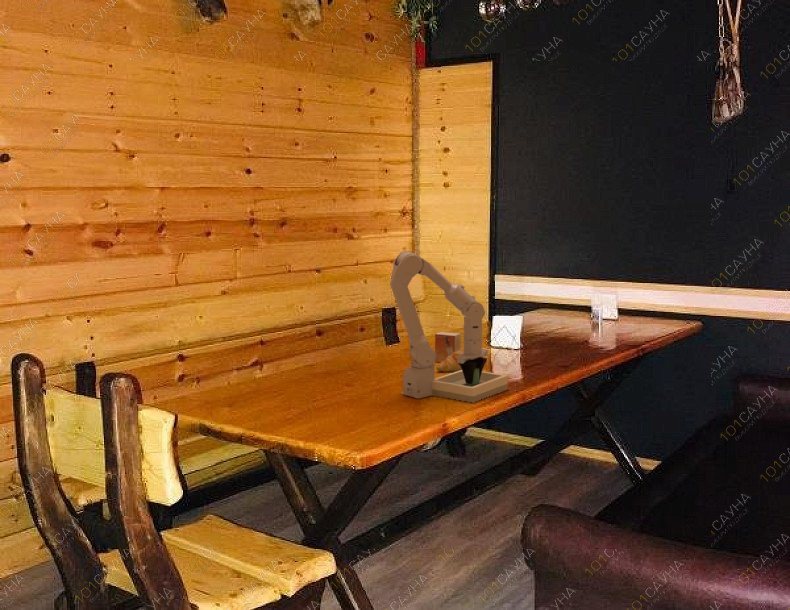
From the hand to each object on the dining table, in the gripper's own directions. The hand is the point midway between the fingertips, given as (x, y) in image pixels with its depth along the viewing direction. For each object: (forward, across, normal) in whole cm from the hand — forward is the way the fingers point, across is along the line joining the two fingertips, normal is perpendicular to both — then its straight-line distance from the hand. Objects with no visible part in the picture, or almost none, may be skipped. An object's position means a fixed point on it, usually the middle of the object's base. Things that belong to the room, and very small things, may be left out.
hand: (472, 382), depth 256 cm
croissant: (+3, +24, +21) cm, 32 cm away
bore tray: (+3, -2, 0) cm, 3 cm away
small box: (+3, +30, +30) cm, 42 cm away
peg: (+3, 0, 0) cm, 3 cm away
